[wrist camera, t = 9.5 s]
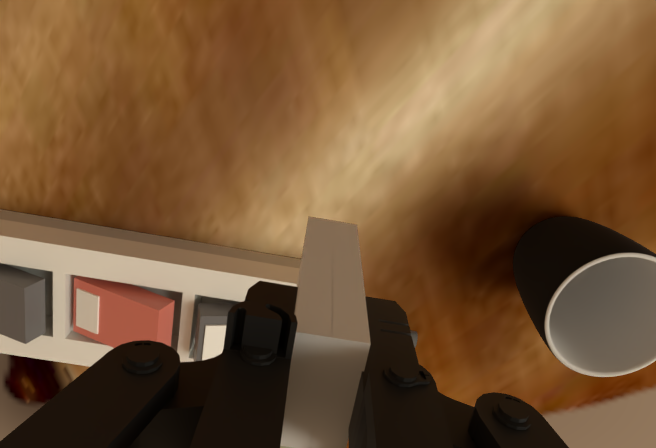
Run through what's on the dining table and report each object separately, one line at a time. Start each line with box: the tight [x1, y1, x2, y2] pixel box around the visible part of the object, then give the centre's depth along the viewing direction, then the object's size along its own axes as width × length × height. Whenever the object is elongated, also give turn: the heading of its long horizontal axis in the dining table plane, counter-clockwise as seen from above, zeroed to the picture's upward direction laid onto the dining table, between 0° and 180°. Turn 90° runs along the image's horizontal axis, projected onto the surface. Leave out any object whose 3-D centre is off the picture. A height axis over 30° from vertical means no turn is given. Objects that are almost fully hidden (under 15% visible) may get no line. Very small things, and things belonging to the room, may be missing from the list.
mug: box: [513, 216, 656, 377], centre depth 38 cm, size 12×9×10 cm
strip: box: [0, 209, 417, 367], centre depth 42 cm, size 38×10×5 cm, turn 80°
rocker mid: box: [73, 276, 175, 348], centre depth 40 cm, size 8×5×2 cm, turn 80°
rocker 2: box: [193, 303, 238, 361], centre depth 40 cm, size 8×5×2 cm, turn 79°
